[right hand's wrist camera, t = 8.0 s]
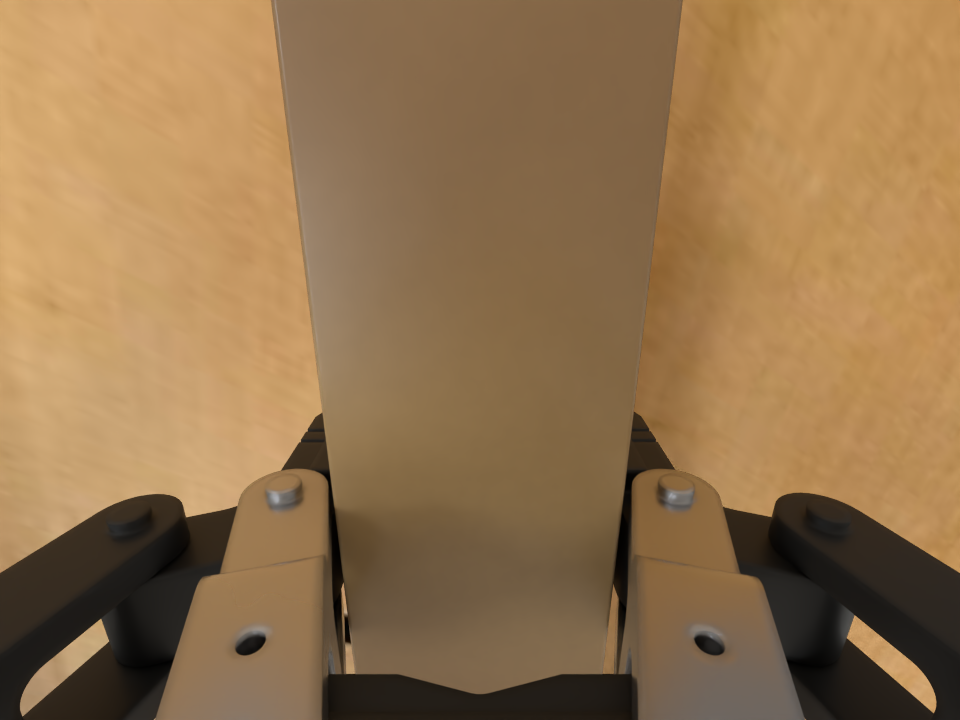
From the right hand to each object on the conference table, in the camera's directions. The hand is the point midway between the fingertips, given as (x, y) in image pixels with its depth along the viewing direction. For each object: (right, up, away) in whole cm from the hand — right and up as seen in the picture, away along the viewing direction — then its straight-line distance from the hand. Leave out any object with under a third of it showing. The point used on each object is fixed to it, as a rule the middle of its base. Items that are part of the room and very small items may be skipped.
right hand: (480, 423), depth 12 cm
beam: (0, -30, +14) cm, 33 cm away
